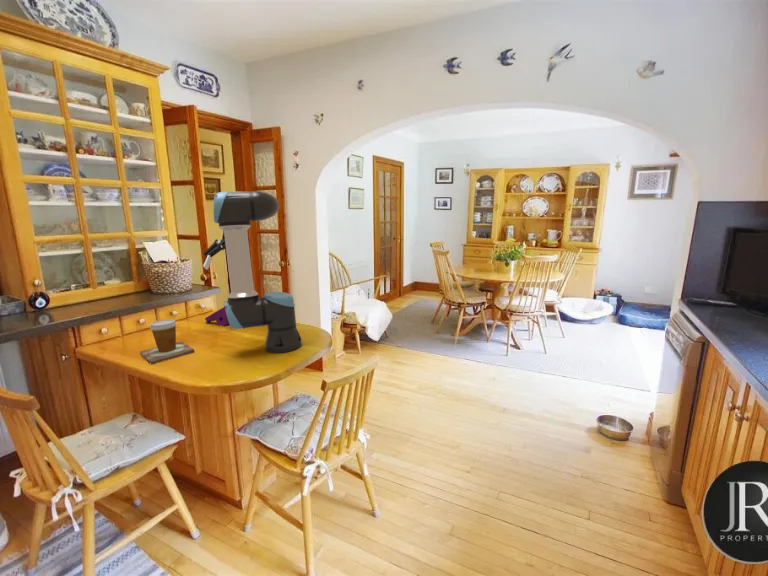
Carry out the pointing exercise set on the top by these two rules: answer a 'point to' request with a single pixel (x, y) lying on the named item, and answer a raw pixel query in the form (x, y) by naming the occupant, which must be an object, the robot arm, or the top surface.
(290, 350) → the robot arm
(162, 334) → the disposable coffee cup
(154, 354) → the coaster
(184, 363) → the top surface
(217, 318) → the mounting bracket
